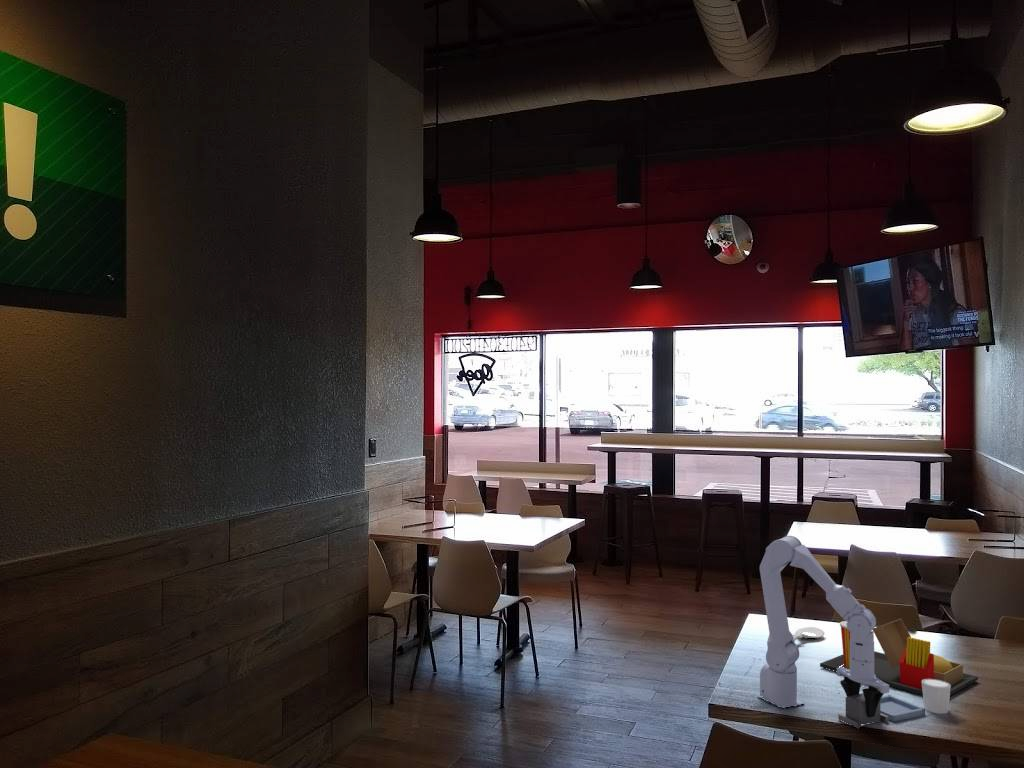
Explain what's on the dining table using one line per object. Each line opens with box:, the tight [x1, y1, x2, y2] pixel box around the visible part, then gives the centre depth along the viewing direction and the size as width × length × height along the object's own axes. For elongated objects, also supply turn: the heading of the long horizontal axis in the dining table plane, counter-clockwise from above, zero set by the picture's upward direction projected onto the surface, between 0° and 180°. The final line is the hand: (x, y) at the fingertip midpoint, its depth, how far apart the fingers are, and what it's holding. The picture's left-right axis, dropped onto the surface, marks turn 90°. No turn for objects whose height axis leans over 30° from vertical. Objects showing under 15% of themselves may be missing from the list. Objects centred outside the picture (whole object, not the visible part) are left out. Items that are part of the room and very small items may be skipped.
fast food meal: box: [819, 618, 979, 696], centre depth 233 cm, size 26×35×18 cm
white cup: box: [922, 679, 951, 715], centre depth 206 cm, size 7×7×7 cm
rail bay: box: [837, 713, 890, 730], centre depth 198 cm, size 6×11×2 cm, turn 115°
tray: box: [880, 694, 926, 723], centre depth 205 cm, size 11×12×2 cm
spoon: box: [792, 626, 825, 643], centre depth 264 cm, size 9×32×4 cm, turn 139°
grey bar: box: [845, 692, 882, 724], centre depth 198 cm, size 4×8×6 cm, turn 118°
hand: (862, 712), depth 198 cm, fingers open, 5 cm apart
